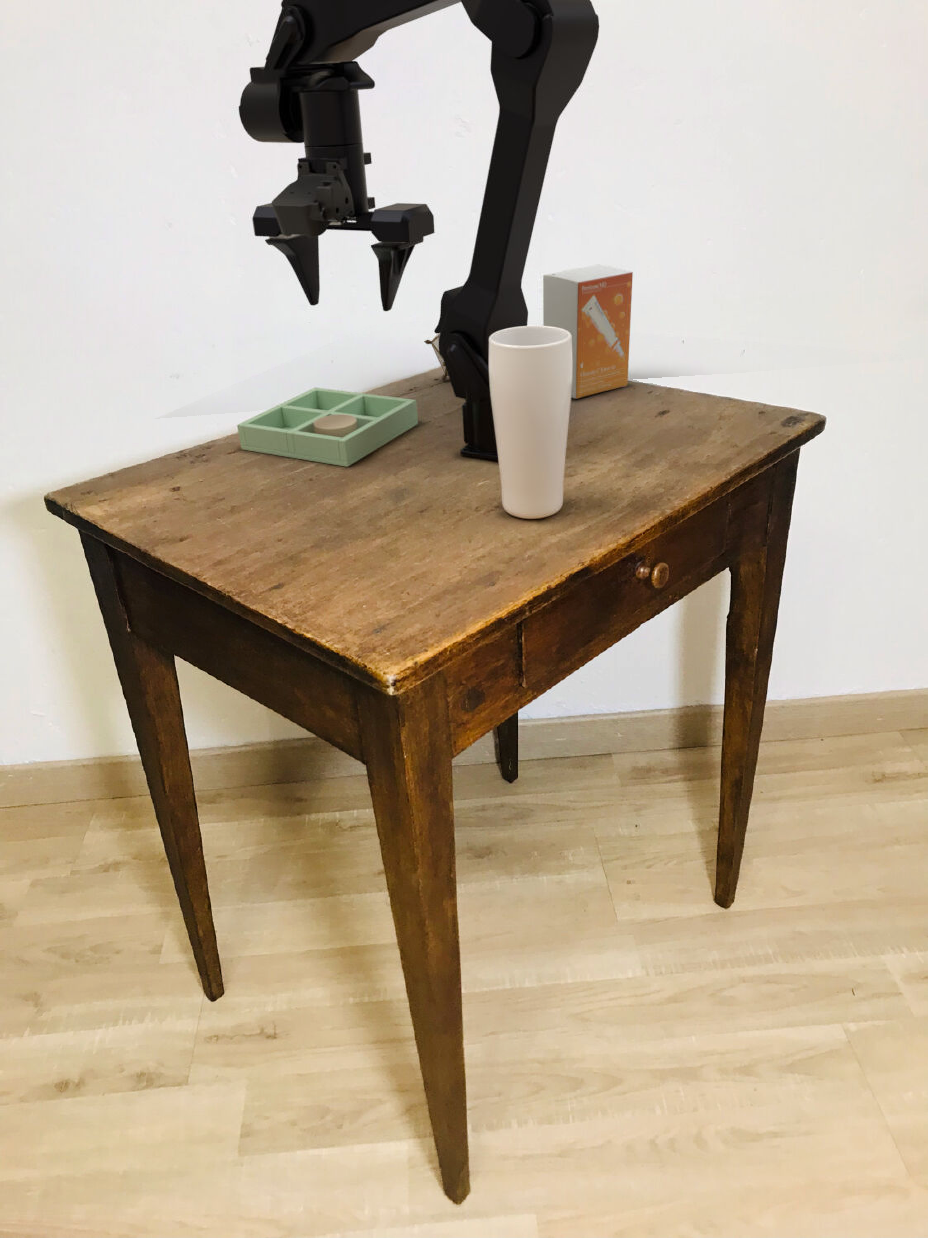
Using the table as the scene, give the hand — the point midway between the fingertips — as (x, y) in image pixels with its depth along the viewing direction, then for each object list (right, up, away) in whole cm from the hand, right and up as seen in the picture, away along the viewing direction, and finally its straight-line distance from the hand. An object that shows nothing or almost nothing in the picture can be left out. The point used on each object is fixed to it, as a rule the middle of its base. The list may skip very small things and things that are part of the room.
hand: (350, 307), depth 101 cm
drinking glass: (+18, -24, -18) cm, 35 cm away
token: (-1, -15, -3) cm, 15 cm away
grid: (-2, -13, +1) cm, 14 cm away
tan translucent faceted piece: (+12, -4, +17) cm, 21 cm away
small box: (+27, -6, +11) cm, 30 cm away
